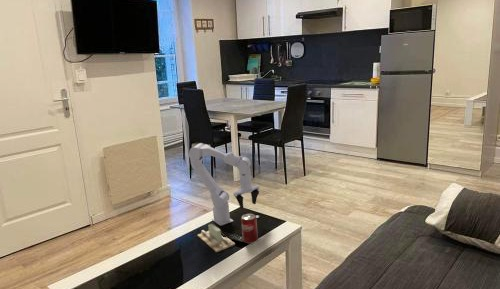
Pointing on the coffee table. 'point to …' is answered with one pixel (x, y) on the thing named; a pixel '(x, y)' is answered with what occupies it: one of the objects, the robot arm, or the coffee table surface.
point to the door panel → (215, 232)
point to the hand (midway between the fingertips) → (247, 205)
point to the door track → (213, 243)
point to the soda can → (249, 228)
